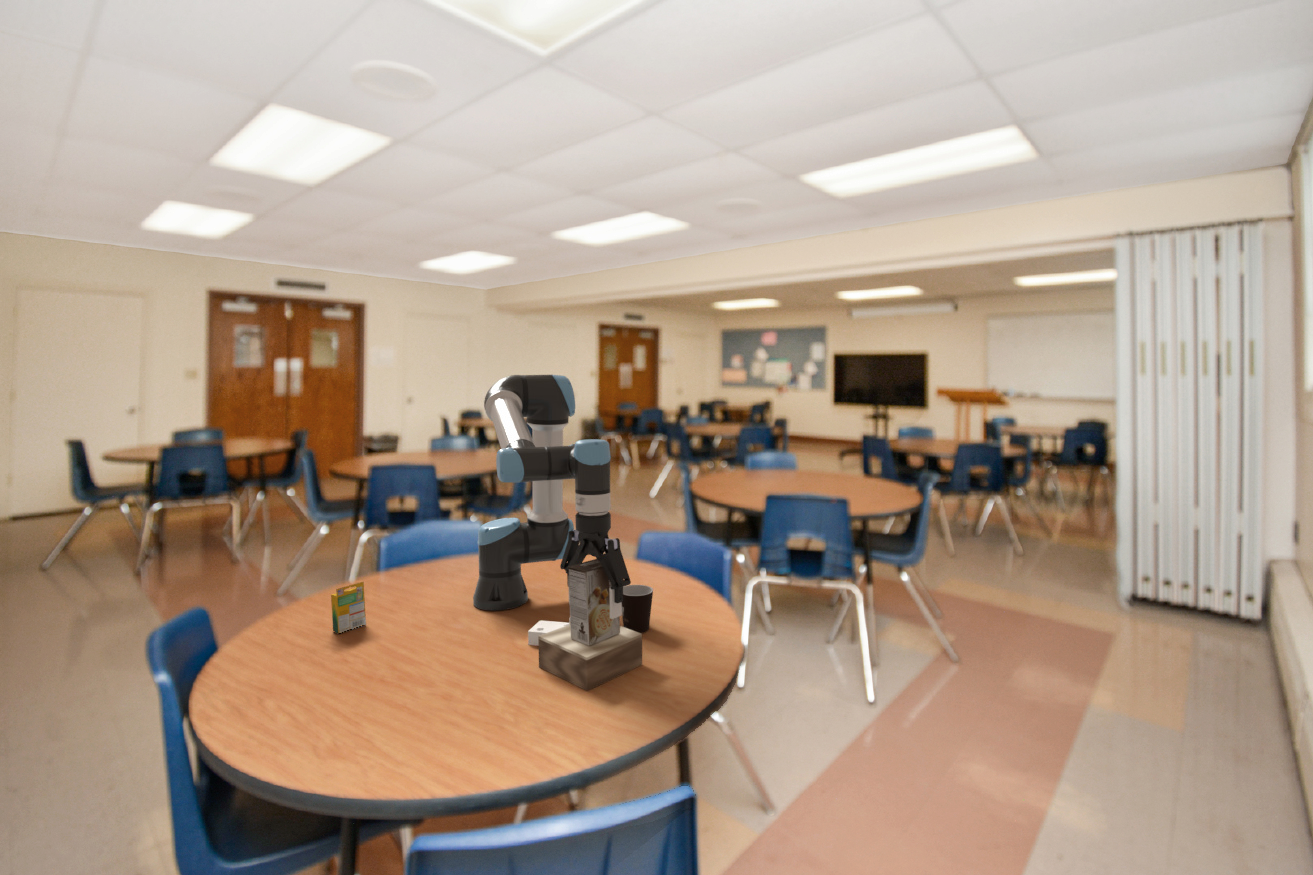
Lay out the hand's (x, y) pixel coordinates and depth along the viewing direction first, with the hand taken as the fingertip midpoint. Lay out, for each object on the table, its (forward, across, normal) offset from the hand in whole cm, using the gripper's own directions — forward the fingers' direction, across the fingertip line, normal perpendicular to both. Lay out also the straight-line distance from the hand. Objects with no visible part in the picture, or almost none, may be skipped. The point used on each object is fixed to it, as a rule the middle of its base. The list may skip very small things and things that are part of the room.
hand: (594, 609), depth 134 cm
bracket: (+14, -17, +4) cm, 22 cm away
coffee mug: (+13, -10, +23) cm, 28 cm away
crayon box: (+13, -64, -27) cm, 70 cm away
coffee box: (+6, 0, 0) cm, 6 cm away
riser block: (+13, -2, 0) cm, 13 cm away
